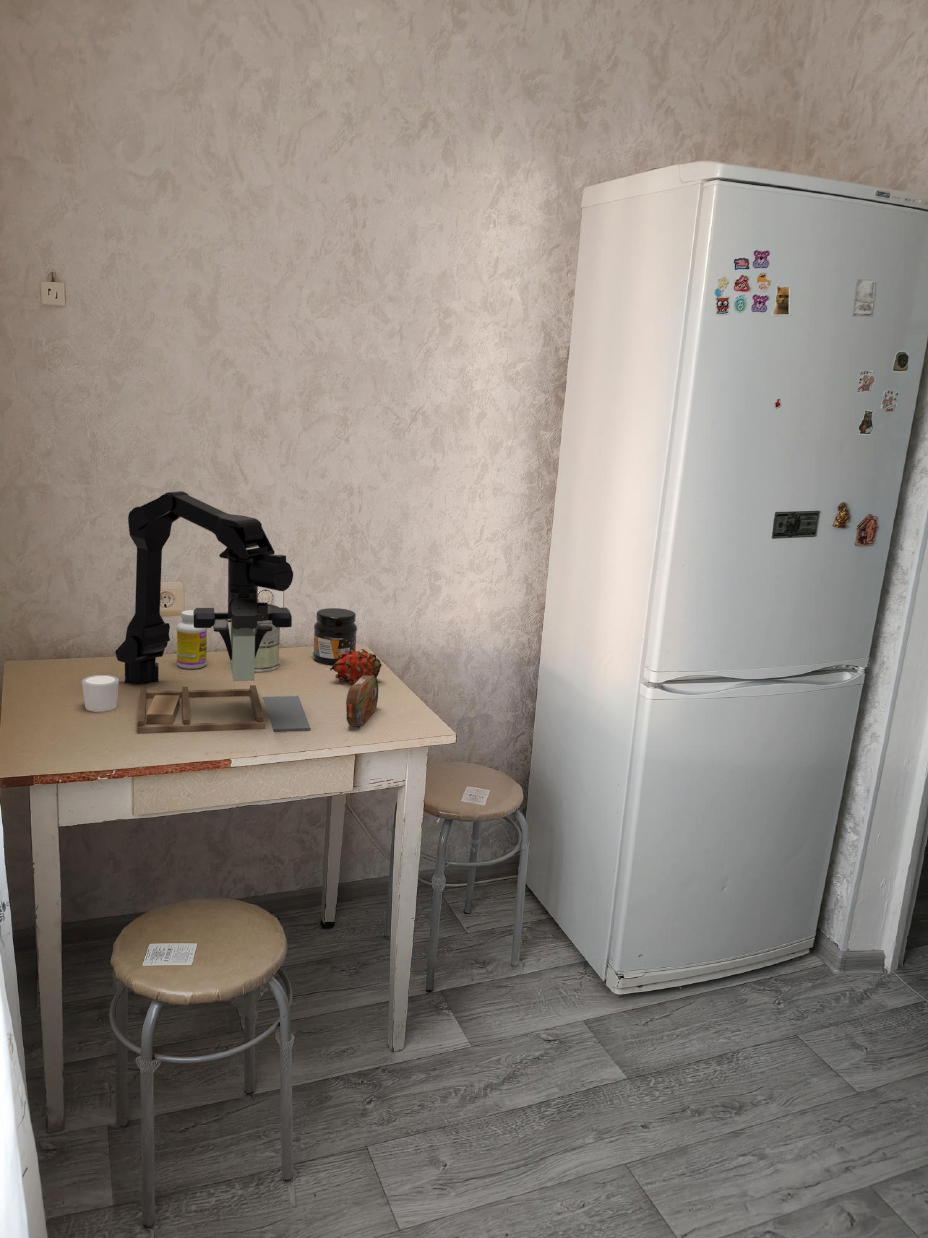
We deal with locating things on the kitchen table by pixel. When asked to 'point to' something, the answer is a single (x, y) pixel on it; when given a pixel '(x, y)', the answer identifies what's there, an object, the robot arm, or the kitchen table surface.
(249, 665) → the pale green block
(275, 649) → the coffee can
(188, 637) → the supplement bottle
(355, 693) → the tin
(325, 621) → the supplement container
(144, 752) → the kitchen table surface
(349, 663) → the dragon fruit
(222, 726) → the rack
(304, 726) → the mat
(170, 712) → the offcut short
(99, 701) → the white cup
